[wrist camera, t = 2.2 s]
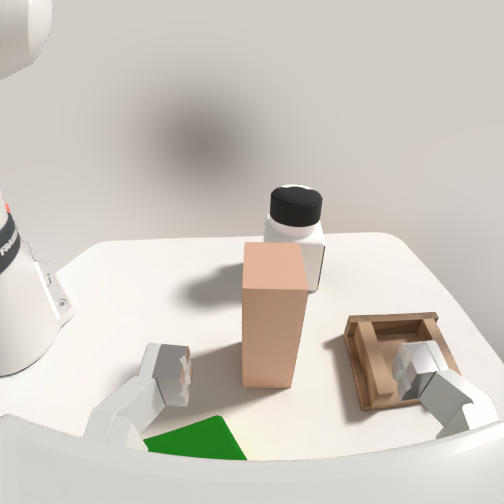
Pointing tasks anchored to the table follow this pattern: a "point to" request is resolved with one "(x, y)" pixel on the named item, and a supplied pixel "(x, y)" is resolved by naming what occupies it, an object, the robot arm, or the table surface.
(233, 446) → the dish sponge
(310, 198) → the medicine bottle
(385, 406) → the tray
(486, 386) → the table surface
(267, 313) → the clay block
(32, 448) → the robot arm
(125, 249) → the table surface
